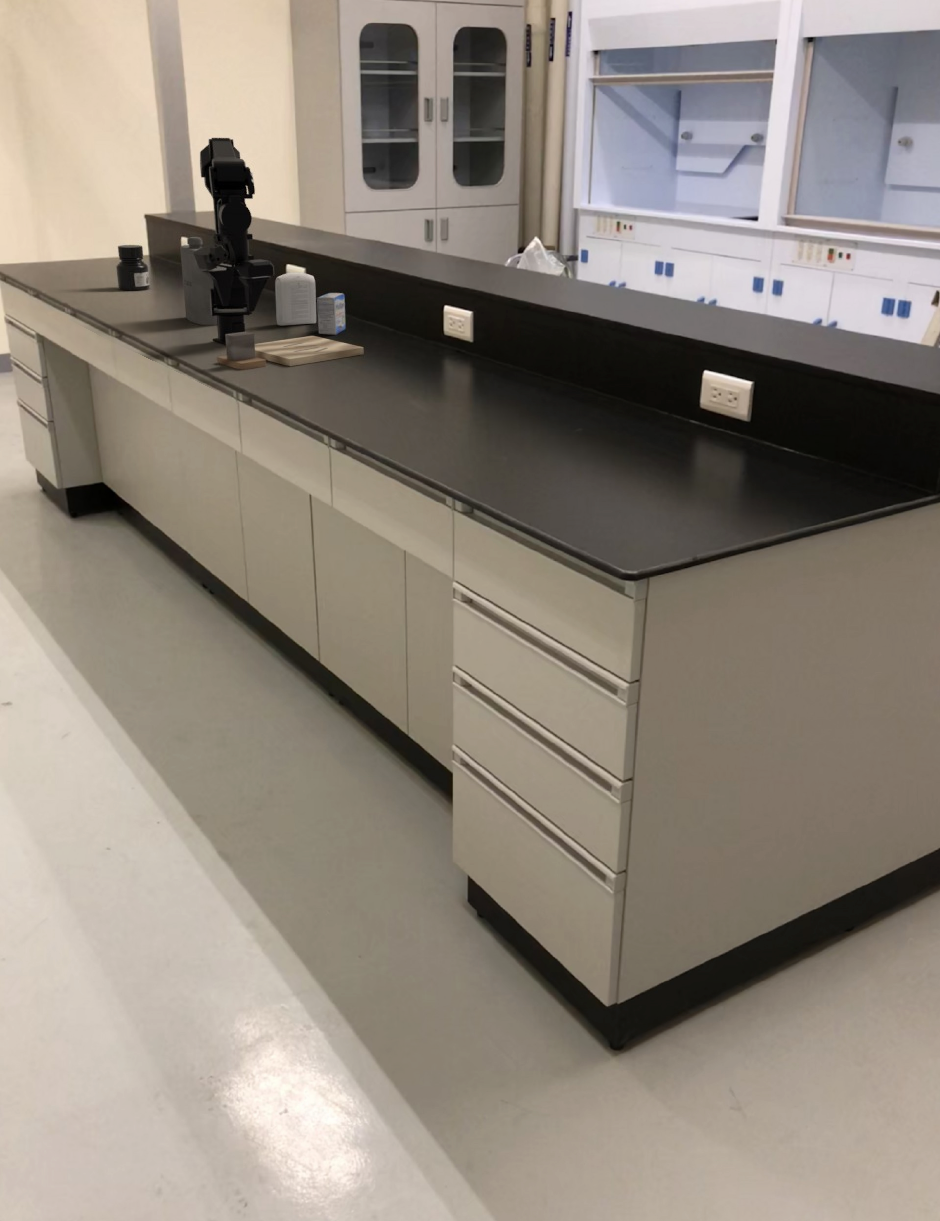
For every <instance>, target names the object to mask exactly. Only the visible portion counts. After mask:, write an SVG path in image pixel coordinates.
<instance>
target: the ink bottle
mask: <svg viewBox="0 0 940 1221" xmlns="http://www.w3.org/2000/svg"><path fill="white" fill-rule="evenodd" d="M143 248H144V247H143V245H139V244H138V245H137V244H123V245H118V246H117V250H118V251H117V252H118V253H117V254H118V258H119V262H118V263H117V265H116V266H115V267H116V277H117V286H118V289H119V290H122V291H145V290H148V289H150V288H151V287H150V286H151V285H150V275H149V274H150V273H149V266H148V265H147V263H145V262H144V261H143V260H144V249H143Z"/></svg>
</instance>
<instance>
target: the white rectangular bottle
mask: <svg viewBox="0 0 940 1221" xmlns="http://www.w3.org/2000/svg"><path fill="white" fill-rule="evenodd" d="M274 286H275V289H274V291H275V311H276V314H275V317H276V324H277V326H295V325H296V326H297V325H306V324H307V325H309V324H312V325H313V324H316V323H317V302H316V301H317V297H316V296H317V294H316V293H317V292H316V291H317V290H316V280H315V277H314V275H311V274H308V273H305V272H287V273H283V274H282V275H279V276H277V277H276V279H275V282H274Z"/></svg>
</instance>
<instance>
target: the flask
mask: <svg viewBox="0 0 940 1221" xmlns="http://www.w3.org/2000/svg"><path fill="white" fill-rule="evenodd" d="M186 241H187V242H186V243H187V244H184V245H181V246H180V247H179V249H180V260H181V272H182V283H183V286H182V287H183V296H184V310H185V318H186V319H187V320H188V321H189V322H191V323H192V324H193V323H194V324H197V325H200V326H205V327H206V326H208V327H209V326H211V327H212V326H217V316H212V315H211V310H210V288H213V287H212V278H211V277H209V276H208V275H207V274H206V273H204V272H203V271H202V270H206V269H199V267H198V265H197V262H196V259H195V257H194V254H193V253H194V252H195V251H197V250H199V249H200V248H202V245H203V238H202V237H199V236H190V237H188V238H187V239H186ZM214 310H221V309H217V308H214Z"/></svg>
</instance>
